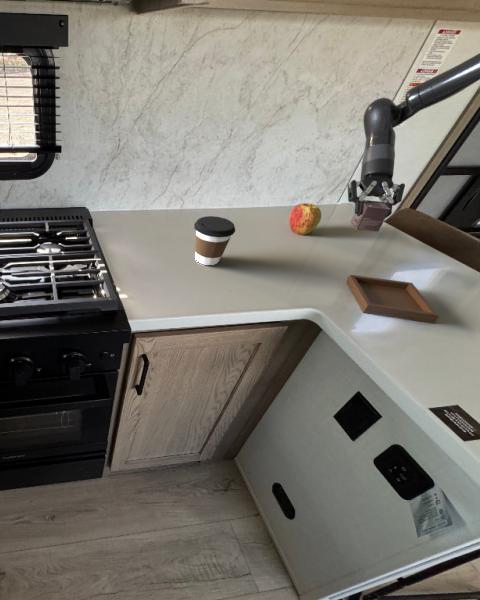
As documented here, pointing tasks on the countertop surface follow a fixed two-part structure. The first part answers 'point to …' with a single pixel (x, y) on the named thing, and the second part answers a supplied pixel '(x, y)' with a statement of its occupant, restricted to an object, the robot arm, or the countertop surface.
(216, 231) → the coffee cup
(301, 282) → the countertop surface
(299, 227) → the apple
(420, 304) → the brown wooden tray
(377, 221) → the box
